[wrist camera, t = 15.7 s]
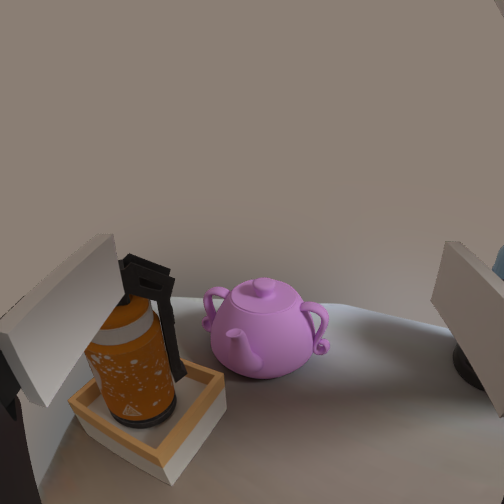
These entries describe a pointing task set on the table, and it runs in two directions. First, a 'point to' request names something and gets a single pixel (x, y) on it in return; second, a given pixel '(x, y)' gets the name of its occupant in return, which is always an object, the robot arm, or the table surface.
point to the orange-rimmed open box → (165, 434)
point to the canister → (138, 348)
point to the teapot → (263, 328)
